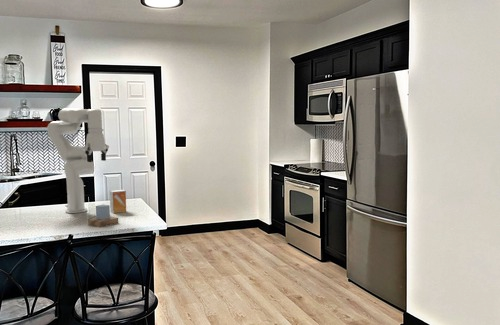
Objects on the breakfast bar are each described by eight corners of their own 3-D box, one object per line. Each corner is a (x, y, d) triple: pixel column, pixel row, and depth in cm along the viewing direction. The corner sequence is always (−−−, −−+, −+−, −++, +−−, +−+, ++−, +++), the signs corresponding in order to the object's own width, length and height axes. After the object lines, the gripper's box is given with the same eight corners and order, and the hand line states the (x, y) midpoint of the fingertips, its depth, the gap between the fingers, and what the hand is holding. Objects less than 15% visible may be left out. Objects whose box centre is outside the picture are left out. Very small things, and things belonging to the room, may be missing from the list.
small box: (113, 213, 276) (112, 191, 275) (110, 211, 281) (109, 190, 280) (126, 211, 281) (125, 190, 279) (123, 210, 286) (122, 189, 285)
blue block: (96, 218, 247) (95, 205, 247) (103, 217, 251) (103, 204, 251) (102, 219, 244) (101, 206, 244) (110, 218, 249) (109, 205, 248)
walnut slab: (88, 224, 247) (88, 219, 246) (104, 220, 256) (104, 215, 255) (101, 227, 241) (101, 221, 240) (118, 223, 250) (118, 217, 250)
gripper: (103, 130, 271) (104, 159, 273) (78, 131, 257) (79, 162, 258) (111, 130, 267) (113, 160, 269) (86, 131, 253) (88, 162, 254)
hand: (96, 161), depth 264 cm, fingers open, 9 cm apart
